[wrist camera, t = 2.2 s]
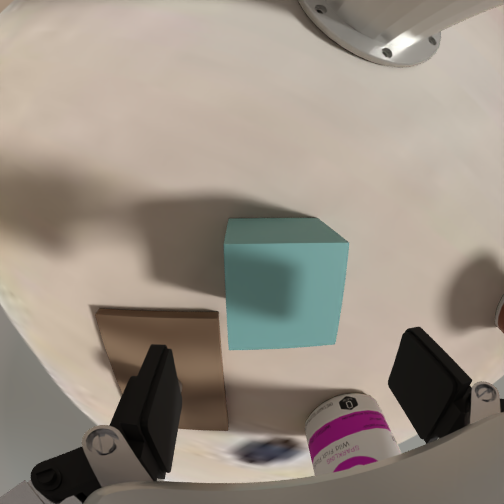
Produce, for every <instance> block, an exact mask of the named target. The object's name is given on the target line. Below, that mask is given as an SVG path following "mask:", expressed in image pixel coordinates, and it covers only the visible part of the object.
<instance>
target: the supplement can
mask: <svg viewBox="0 0 504 504" xmlns="http://www.w3.org/2000/svg"><path fill="white" fill-rule="evenodd" d="M305 433H306V437H307V442H308V446H309V451H310V455H311V460H312V464H313V469H314V473H315V476H317V475H323V474H328V473H333V472H338V471H342V470H347V469H351V468H355V467H359V466H363V465H367V464H370V463H374V462H377V461H380V460H384V459H387V458H390V457H393V456H396V455H399V454H402V453H401V451H400V448H399V446H398V444H397V442H396V440H395V438H394V436H393V434H392V432H391V430H390V428H389V425H388V423H387V421H386V419H385V417H384V415H383V413H382V411H381V409H380V407H379V405H378V403H377V401H376V400H375V399H374V398H373V397H371V396H370V395H365V394H358V393H350V394H343V395H340V396H337V397H333V398H332V399H330V400H328V401H326V402H324V403H322V404H321V405H320V406H319V407H317V408H316V409H315V410H314V411H313V413H311V415H310V416H309V418H308V419H307V420H306V422H305Z"/></svg>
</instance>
